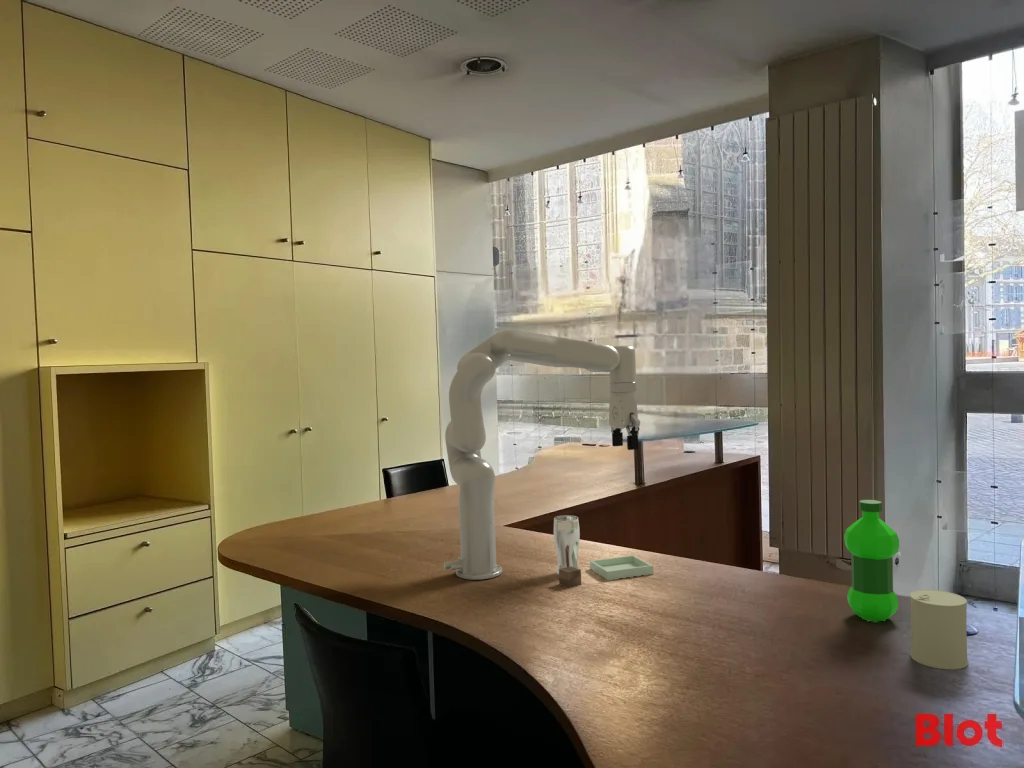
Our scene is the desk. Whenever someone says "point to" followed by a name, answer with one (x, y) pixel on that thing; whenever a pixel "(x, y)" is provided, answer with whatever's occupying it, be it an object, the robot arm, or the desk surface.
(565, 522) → the beer glass
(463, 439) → the robot arm
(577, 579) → the walnut block
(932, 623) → the can
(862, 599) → the plastic bottle
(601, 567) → the tray
